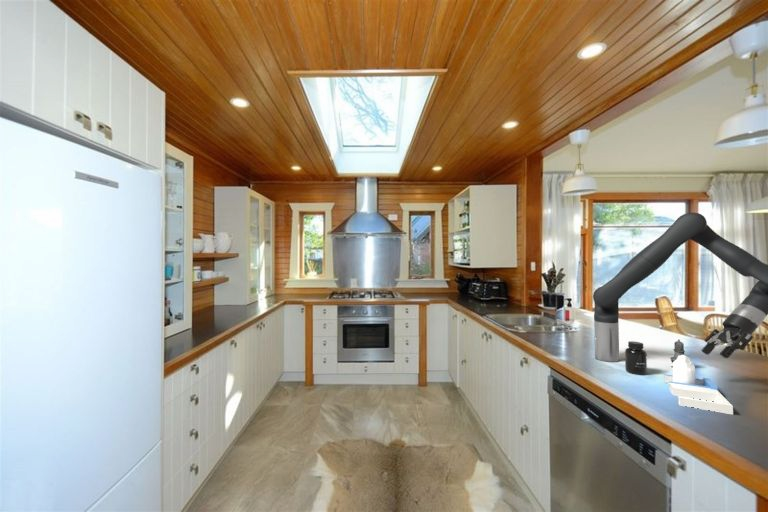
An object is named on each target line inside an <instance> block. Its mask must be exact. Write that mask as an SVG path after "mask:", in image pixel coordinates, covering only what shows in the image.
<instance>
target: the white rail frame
mask: <svg viewBox="0 0 768 512" xmlns="http://www.w3.org/2000/svg"><path fill="white" fill-rule="evenodd" d="M663 377H664V378H663V379H664V380H663V382H664V383H665V384H669V387H668V388H669V391H670V393H671V394H672V396H675V397H677V398H678V405H679V406H680V407H685V406H687V408H691V407H694V408H693V409H697V408H699V409H698V410H703V411H708V410H710V411H709V412H714V411H715V413H716V412H717V413H722V414H726V415H734V406H733V404H731V403H730V402H729V401H728V399H726V397H724V395H722V394H721V392H720V391H719V390H718V386H717V384H715V383H714V381H712V380H711V379H710V378H709V377H708V378H707V377H702V378H696V377H695V385H692V384H685V383H678V382H673V374H672V375H671V374H663ZM693 398H694V399H693ZM699 399H701V400H699ZM706 400H707V401H706ZM712 401H714V402H712Z"/></svg>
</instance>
